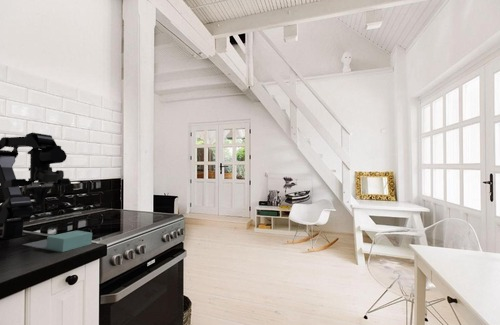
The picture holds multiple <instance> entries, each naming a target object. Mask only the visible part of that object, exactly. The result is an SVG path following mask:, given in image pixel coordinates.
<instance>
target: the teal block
mask: <svg viewBox="0 0 500 325" xmlns="http://www.w3.org/2000/svg"><path fill="white" fill-rule="evenodd" d="M46 239H47V247H46V249H45V250H47V249H51V250H50V251H52V250H56V251H55V252H57V251H61V252H62V253H63V252H66V251H67V252H68V251H71V250H75V249H79V248H82V247H86V246H89V245H92V240H93V232H91V231H90V232H89V231H83V230H73V231H67V232H63V233H59V234H53V235H48V236H47V238H46Z"/></svg>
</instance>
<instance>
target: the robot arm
mask: <svg viewBox="0 0 500 325" xmlns="http://www.w3.org/2000/svg"><path fill="white" fill-rule="evenodd" d="M5 147H6V148H7V147H8V148H13V149H12V150H4V148H5ZM19 148H31V149H29V151H27V154H28V155H30V159H29V160H30V161H29V162H30V167H28V171H29V178H28V180H27V179H26V178H16V174H15V172H14V168H13V166H14V164H15V162H16V158H18V155H19V151H18V150H19ZM67 156H68V155H67V153H66V151H64V149H62V146H61V145H58V144H57V142H56V141H55V138H53V135H51V134H44V133H37V132H30V133H27V134H26V135H24V136H12V137H11V136H8V137H7V136H5V137H4V136H3V137H1V138H0V188H1V191H2V194H3V196H4V199H5V200H4V202H3V203H2V206H1V211H0V224H3V227H2V235H0V239H2V240H9V239H16V238H22V237H26V236H28V234H27V233H23V232H24V225H25V224H24V221H30V220H31V218H32V215H33V213H34V210H35V209H34V207H33V203H32V200H31V197H30V196H24V195H23V194H22V191H21V189H20V187H24V189H25V190H27V191H28V192H29V193H30V194H31V196H32V197H33V199H34V201H35V203H36V204H37V205H38V206H42V205H43V203H44V201H45V198H46V197H47V195H48V193H49V191H50V190H51V189H53V188H55V186H69V185H71V179H70V178H69V177H68V178H67V177H66V178H65V177H64V175H65V173H64V170H58V169H57V170H55V171H53V168H52V166H51V164H61V163H64V162H65V161H66V160H67ZM25 186H26V187H25Z"/></svg>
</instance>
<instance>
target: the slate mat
mask: <svg viewBox="0 0 500 325" xmlns="http://www.w3.org/2000/svg"><path fill="white" fill-rule="evenodd" d="M21 245H22V246H27V247H32V248H37V249H41V250H47V251H51V252H56V253H57V252H58V253H60V252H61V251H56V250H51V249H46V247H47V238H45V239H42V240H37V241H32V242H27V243H22V244H21Z"/></svg>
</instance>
